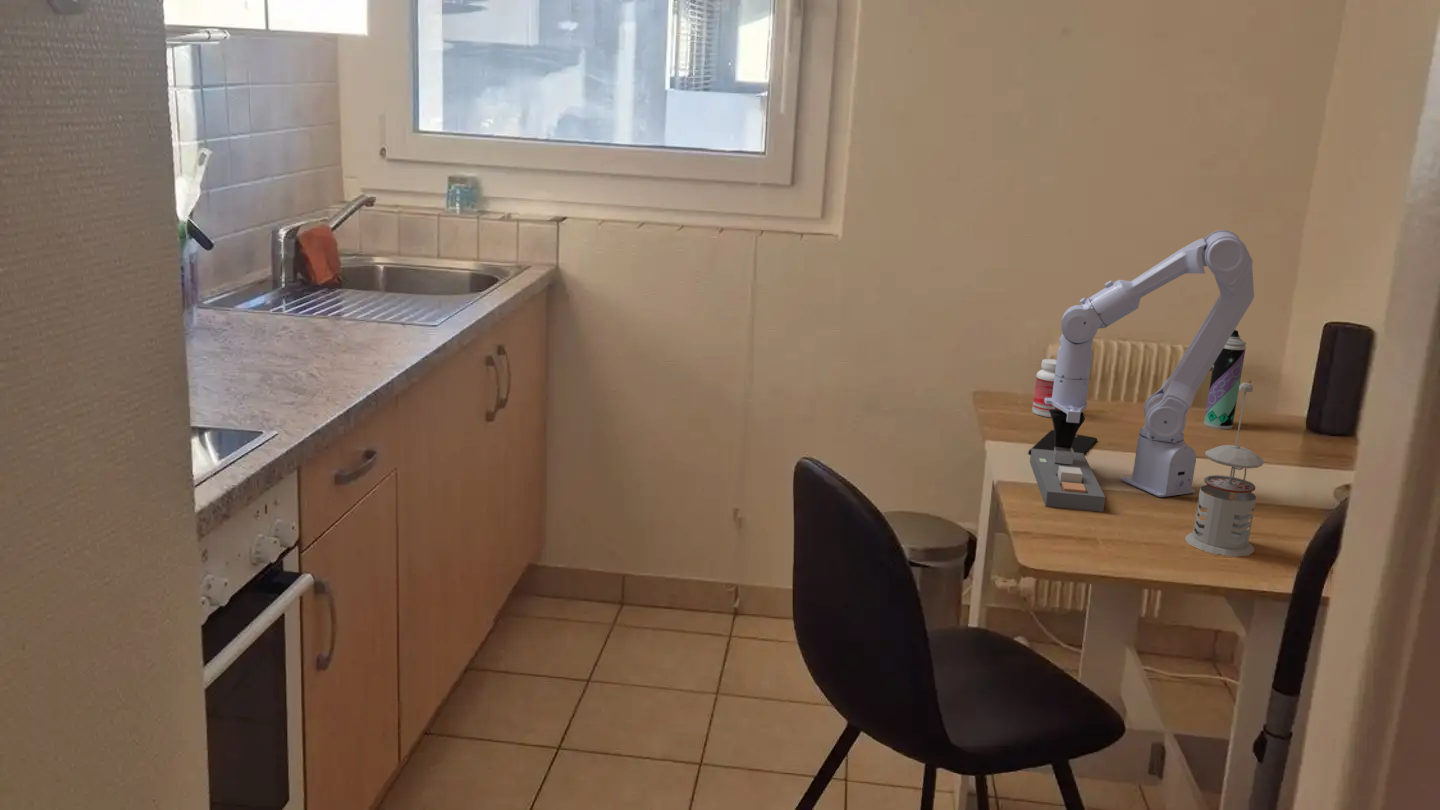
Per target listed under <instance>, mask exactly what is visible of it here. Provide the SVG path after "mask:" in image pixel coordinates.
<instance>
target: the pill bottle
mask: <svg viewBox="0 0 1440 810" xmlns="http://www.w3.org/2000/svg"><path fill="white" fill-rule="evenodd" d="M1056 361H1057V359H1054V358H1053V359H1052V358H1044V359H1042V361H1041V364H1040V367H1041V368H1042V369H1040V370H1039V371H1037V373H1036V376H1035V382H1034V383H1035V384H1034V392H1033V393H1034V394H1033V399H1032V400H1033V402H1032V407H1031V412H1032V413H1034V415H1037V416H1040V417H1045V418H1052V417H1051V414H1050V412H1049V410H1050V409H1057V410H1059V409H1058V408H1056V407H1054V406H1053V405H1051V404H1045V402H1044V399H1045V398H1052V393H1053V385H1054V377H1055V369H1056Z"/></svg>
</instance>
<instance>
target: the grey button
mask: <svg viewBox="0 0 1440 810" xmlns="http://www.w3.org/2000/svg"><path fill="white" fill-rule="evenodd" d="M1082 476H1083V474H1082V472H1081V470H1080V468H1074V467H1064V466H1059V469H1058V476H1057V478H1058V481H1060V482H1071V483H1082Z"/></svg>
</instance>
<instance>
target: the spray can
mask: <svg viewBox="0 0 1440 810" xmlns="http://www.w3.org/2000/svg"><path fill="white" fill-rule="evenodd" d="M1246 345H1247V343H1246V342H1245V341H1244V340H1242V339H1241V336H1240V334H1239V331H1238V330H1237V329H1235V330H1234V332H1233V333H1232V335H1231V336H1230V338H1229V340H1228V341H1227V343H1226V345H1225V346H1224V348H1223V349H1222V351H1221V353H1220V354H1219V356H1218V358H1217V359H1216V361H1215V362H1214V364H1213V366H1212V371H1211V377H1210V383H1209V387H1208V388H1209V389H1208V395H1207V402H1206V408H1205V413H1204V420H1203V425H1204V426H1206V427H1208V428H1211V429H1217V430H1232V429H1233V425H1234V419H1235V413H1236V408H1237V407H1236V406H1237V402H1238V401H1237V400H1238V397H1239V391H1240V390H1239V386H1240V385H1241V377H1242V372H1243V365H1244V362H1245V361H1244V360H1245V356H1246V355H1245V354H1246V348H1247V347H1246Z"/></svg>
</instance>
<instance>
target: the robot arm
mask: <svg viewBox="0 0 1440 810" xmlns="http://www.w3.org/2000/svg"><path fill="white" fill-rule="evenodd" d="M1253 263H1254V262H1253V258H1252V256H1251V254H1250V253H1249V250H1248V248H1247V246H1246V245H1245V243H1244V241H1243V240H1241V239H1240V237H1239V236H1238V235H1237V234H1236V233H1234V232H1233V231H1230V230H1227V229H1220V230H1219V229H1218V230H1215V231H1213V232H1211V233H1210V234H1208V235H1207V236H1206V237H1205V238H1204V237H1202V238H1199V239H1197V240H1194V241H1193V242H1191V243H1189V244H1187V245H1186V246H1184V247H1182V248H1180V249H1178V250H1177V251H1175V252H1174V253H1173V254H1171V255H1169V256H1168V257H1166V258H1165V259H1163V260H1162V261H1160V262H1158V263H1157V264H1155V265H1154V266H1152V267H1150V269H1148V270H1146V271H1145V272H1143V273H1141V274H1140V275H1139V276H1137V277H1136V278H1133V280H1126V279H1118V280H1116V281H1113V280H1109V281H1107V282H1106V283H1105V282H1104V288H1103V289H1101V290H1099V291H1097V292H1096V293H1094V294H1092V295H1091V296H1089V297H1088V298H1086V297H1083V298H1081V299H1080V300H1079V304H1075V305H1072V306H1070V307H1069V308H1067V309H1066V311H1064V313H1063V314H1062V317H1061V318H1060V329H1061V336H1060V338H1059V347H1058V348H1057V355H1056V360H1057V361H1056V369H1055V377H1054V385H1053V393H1052V398H1045V399H1044V402H1045V404H1051V405H1053V406H1054V407H1056V408H1058V409H1059V410H1057V409H1050V410H1049V412H1050V414H1051V417H1050V418H1051V420H1052V425H1053V430H1054V440H1055V447H1065V448H1071V446H1072V443H1073V440H1074V437H1075V435H1076V434H1077V432H1078V431H1079V429H1080V427H1081V426H1082V425H1083V423H1084V422H1085V420H1086V417H1085V414H1084V410H1086V409H1087V407H1088V406H1087V405H1088V402H1087V398H1088V391H1089V384H1090V376H1091V375H1090V374H1091V369H1092V368H1091V367H1092V360H1093V354H1094V352H1093V349H1092V346H1093V341H1094V337H1096V335H1097V333H1098V330H1099V329H1106V328H1108V327H1109V326H1111V325H1112V324H1114V323H1116V322H1117V321H1119V320H1121V319H1123V318H1124V317H1126V316H1127V315H1129V314H1131V313H1133V312H1135V311H1136V310H1138V309H1139V306H1140V301H1141V300H1142V299H1141V298H1144V297H1145V296H1147V295H1148V294H1150V293H1152V292H1153V291H1156V290H1158V289H1159V288H1162V287H1163V286H1165V285H1167V284H1168V283H1170V282H1172V281H1173V280H1176V279H1178V278H1179V277H1181V276H1183V275H1186V274H1203V275H1204V274H1206V271H1205V267H1208V269H1209V270H1210V272H1211V273H1212V274H1213V275H1214V278H1215V281H1216V284H1217V287H1218V290H1219V295H1218V298H1217V299H1216V300H1215V301H1214V302H1215V303H1214V304H1213V306H1212V307H1211V309H1210V311H1209V312H1208V314H1207V315H1206V317H1205V319H1204V321H1203V322H1202V324H1201V326H1200V327H1199V328H1198V330H1197V331H1196V333H1195V335H1194V337H1193V338H1192V340H1191V342H1190V343H1189V345H1188V347H1187V348H1186V350H1185V352H1184V354H1183V355H1182V356H1181V358H1180V360H1179V361H1178V363H1177V364H1176V366H1175V368H1174V369H1173V372H1172V373H1171V375H1170V376H1169V377H1168V378H1167V379H1166V380H1165V381H1164V382H1163V384H1162V386H1161V387H1160V388H1159V390H1158V391H1156V392H1154V393H1153V394H1151V395H1149V397H1148V398H1147V399H1146V400H1145V403H1144V407H1143V413H1144V417H1145V420H1144V422H1145V423H1144V424H1145V425H1144V426H1142V427H1141V428H1139V431H1138V438H1137V443H1136V444H1137V445H1136V451H1135V457H1134V458H1135V459H1134V464H1133V465H1134V466H1133V471H1132V475H1131V476H1128V475H1127V476H1122V477H1120V481H1122V482H1124V483H1126V484H1128V485H1131V486H1133V487H1136V488H1138V489H1140V490H1142V491H1145V492H1148V493H1149V494H1152V495H1153V496H1155V497H1158V498H1165V497H1171V496H1178V495H1179V496H1180V495H1187V494H1194V493H1195V491H1196V490H1195V489H1193V488H1192V487H1193V481H1194V476H1195V475H1194V473H1195V469H1196V462H1197V454H1196V452H1195V449H1194V448H1193V447H1192V446H1190V445H1188V444H1187V442H1185V435H1184V433H1183V432H1184V430H1185V428H1186V424H1187V423H1186V422H1187V416H1188V413H1189V410H1190V409H1191V407H1192V406H1193V401H1194V399H1195V397H1196V394H1197V391H1198V389H1199V388H1200V386H1201V385H1202V383H1203V382H1204V380H1205V379H1206V377H1207V375H1208V374H1209V372H1210V370H1211V369H1212V368H1213V364H1214V362H1215V361H1216V359H1217V358H1218V356H1219V354H1220V353H1221V351H1222V349H1223V348H1224V346H1225V345H1226V343H1227V341H1228V340H1229V338H1230V336H1231V335H1232V333H1233V332H1234V330H1236V328H1237V327H1238V325H1239V323H1240V322H1241V321H1242V318H1244V316H1245V314H1246V312H1247V310H1248V309H1249V307H1250V306H1251V304H1252V303H1253V301H1254V297H1255V291H1254V290H1255V289H1254V288H1255V287H1254V276H1253V275H1254V274H1253Z"/></svg>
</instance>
